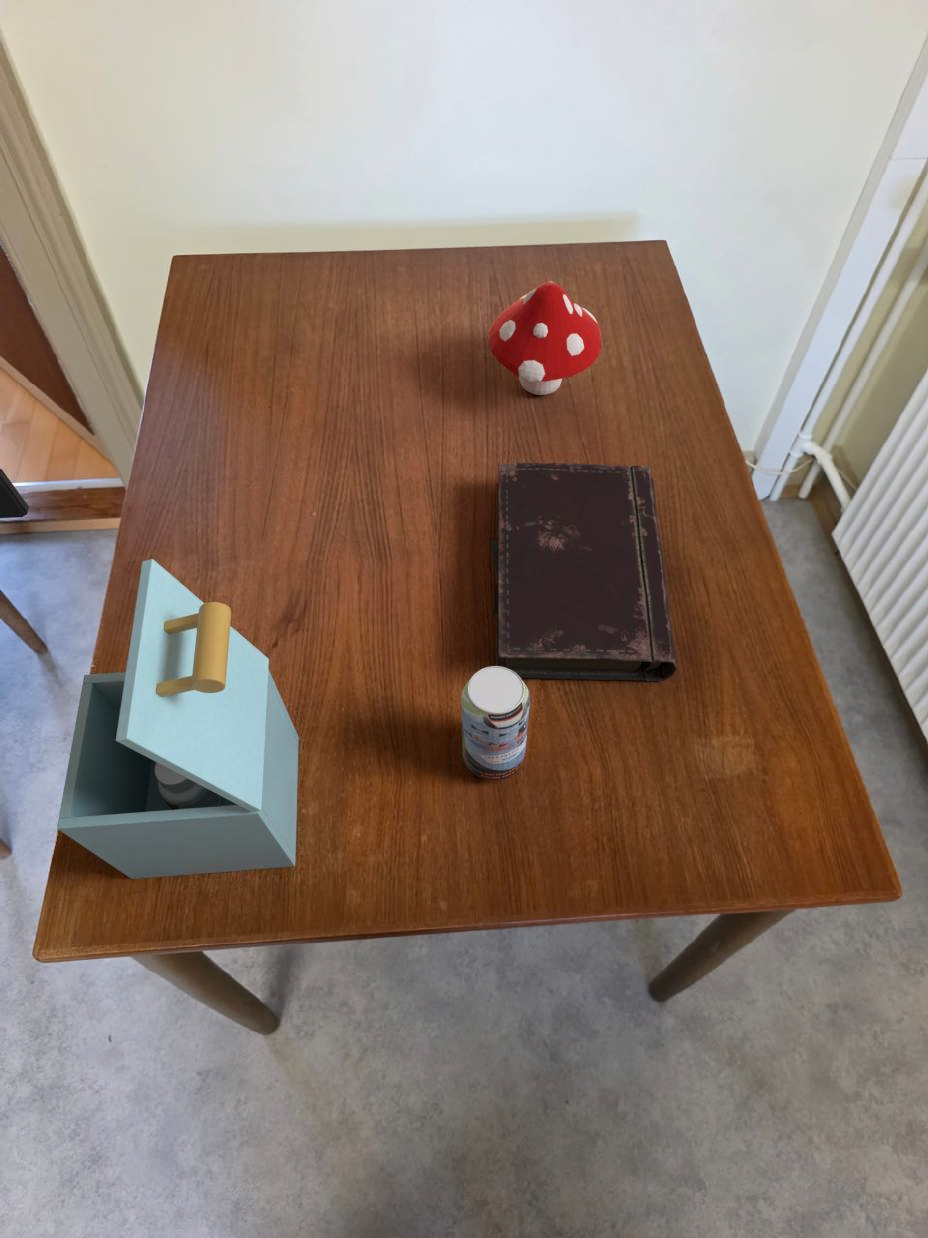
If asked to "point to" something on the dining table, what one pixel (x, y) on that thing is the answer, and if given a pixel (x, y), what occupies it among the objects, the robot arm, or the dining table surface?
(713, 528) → the dining table surface
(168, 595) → the lid
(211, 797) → the pill bottle
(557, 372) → the decorative mushroom
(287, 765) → the chest
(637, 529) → the diary
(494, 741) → the beverage can
